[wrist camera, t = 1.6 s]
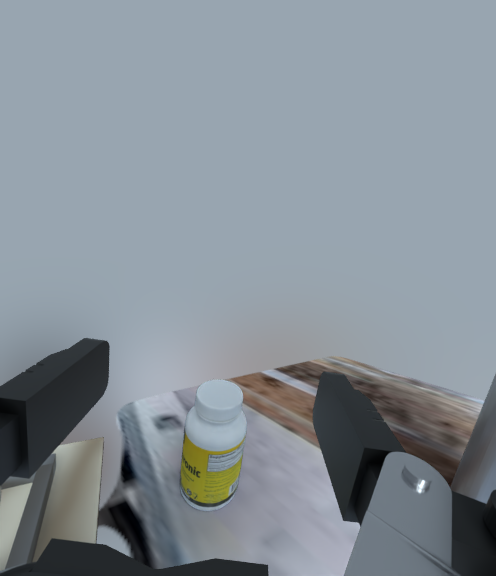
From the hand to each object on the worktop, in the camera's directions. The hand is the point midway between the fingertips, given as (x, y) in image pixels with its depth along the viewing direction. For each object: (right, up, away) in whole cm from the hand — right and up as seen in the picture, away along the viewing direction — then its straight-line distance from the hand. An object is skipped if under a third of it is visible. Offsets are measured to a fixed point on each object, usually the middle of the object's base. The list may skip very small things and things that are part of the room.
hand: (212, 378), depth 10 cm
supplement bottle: (-2, -15, +15) cm, 21 cm away
